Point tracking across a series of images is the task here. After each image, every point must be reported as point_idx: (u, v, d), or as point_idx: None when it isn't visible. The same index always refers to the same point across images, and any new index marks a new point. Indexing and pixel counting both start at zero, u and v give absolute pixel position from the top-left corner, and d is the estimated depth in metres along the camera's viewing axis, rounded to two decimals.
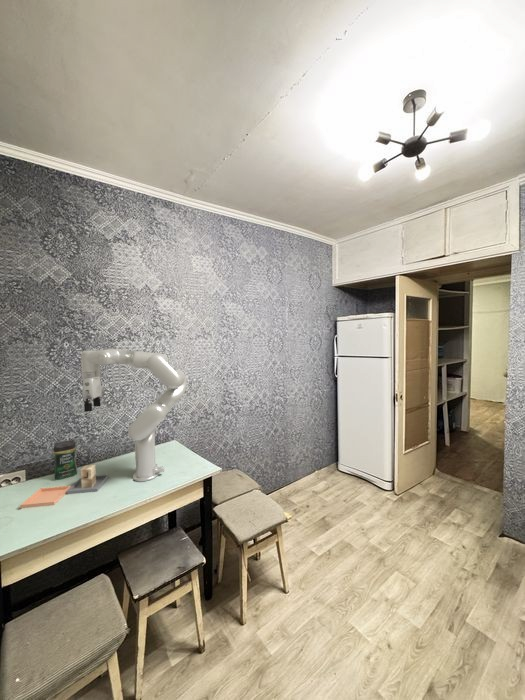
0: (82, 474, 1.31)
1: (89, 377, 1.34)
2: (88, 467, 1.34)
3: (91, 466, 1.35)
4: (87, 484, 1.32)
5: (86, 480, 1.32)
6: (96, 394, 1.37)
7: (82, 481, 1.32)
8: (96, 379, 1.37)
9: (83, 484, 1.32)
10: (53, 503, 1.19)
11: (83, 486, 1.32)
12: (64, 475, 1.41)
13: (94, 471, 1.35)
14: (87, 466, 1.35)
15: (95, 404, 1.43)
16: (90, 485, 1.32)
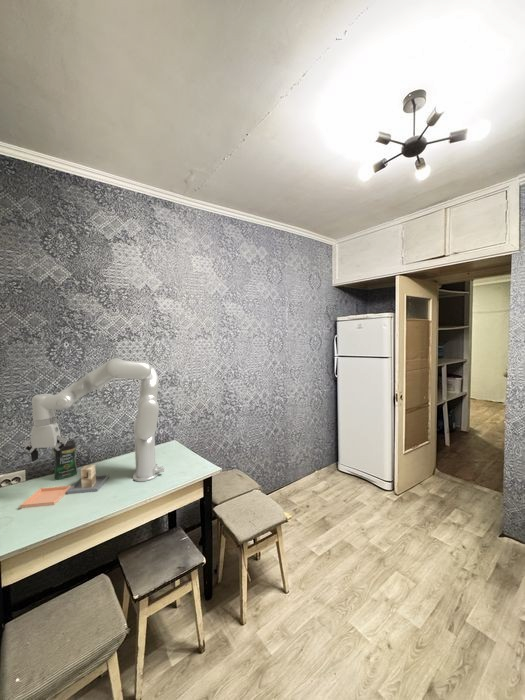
0: (82, 474, 1.31)
1: (54, 422, 1.24)
2: (88, 467, 1.34)
3: (91, 466, 1.35)
4: (87, 484, 1.32)
5: (86, 480, 1.32)
6: None
7: (82, 481, 1.32)
8: None
9: (83, 484, 1.32)
10: (53, 503, 1.19)
11: (83, 486, 1.32)
12: (64, 475, 1.41)
13: (94, 471, 1.35)
14: (87, 466, 1.35)
15: (35, 458, 1.23)
16: (90, 485, 1.32)
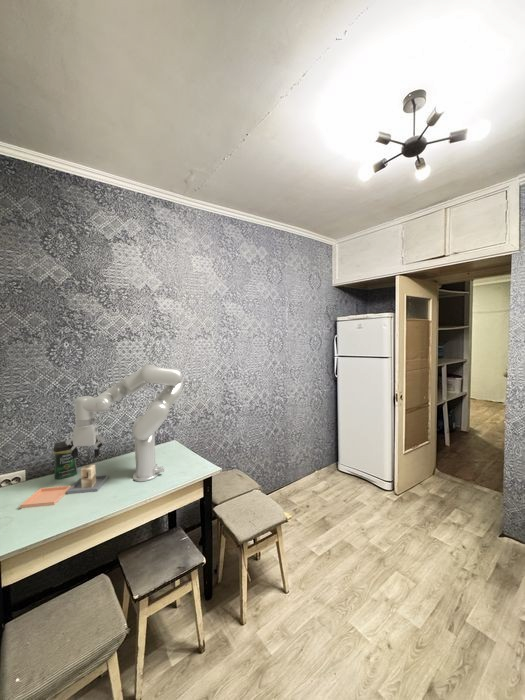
0: (82, 474, 1.31)
1: (94, 422, 1.34)
2: (88, 467, 1.34)
3: (91, 466, 1.35)
4: (87, 484, 1.32)
5: (86, 480, 1.32)
6: None
7: (82, 481, 1.32)
8: None
9: (83, 484, 1.32)
10: (53, 503, 1.19)
11: (83, 486, 1.32)
12: (64, 475, 1.41)
13: (94, 471, 1.35)
14: (87, 466, 1.35)
15: (75, 455, 1.32)
16: (90, 485, 1.32)
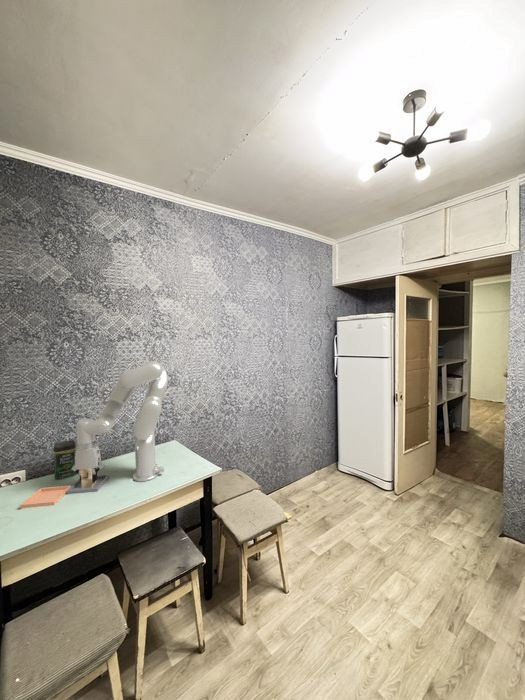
0: (82, 474, 1.31)
1: (95, 445, 1.35)
2: None
3: None
4: (87, 484, 1.32)
5: (86, 480, 1.32)
6: None
7: (82, 481, 1.32)
8: None
9: (83, 484, 1.32)
10: (53, 503, 1.19)
11: (83, 486, 1.32)
12: (64, 475, 1.41)
13: None
14: None
15: None
16: (90, 485, 1.32)
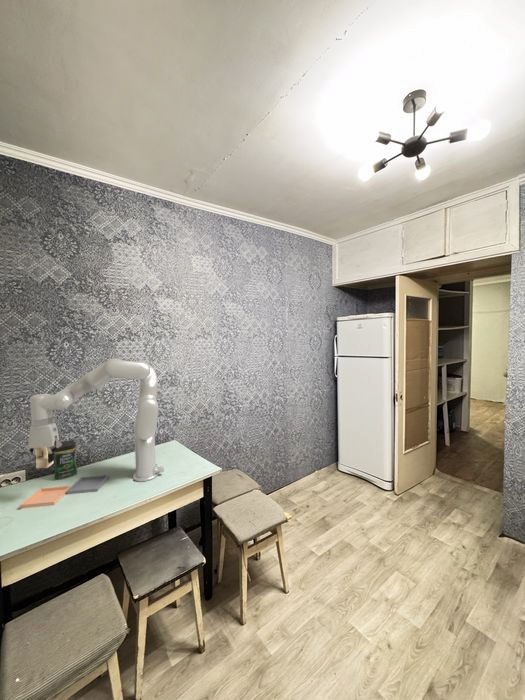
0: (37, 453, 1.21)
1: (52, 422, 1.24)
2: None
3: None
4: (42, 464, 1.21)
5: (41, 460, 1.21)
6: None
7: (37, 461, 1.21)
8: None
9: (38, 464, 1.21)
10: (53, 503, 1.19)
11: (38, 466, 1.21)
12: (64, 475, 1.41)
13: None
14: None
15: None
16: (46, 465, 1.22)
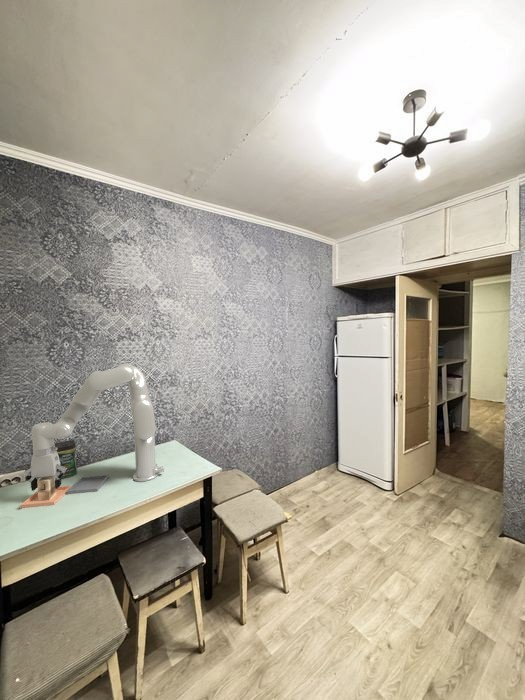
0: (39, 486, 1.22)
1: (54, 451, 1.25)
2: (46, 478, 1.24)
3: (50, 477, 1.25)
4: (44, 497, 1.22)
5: (43, 492, 1.22)
6: None
7: (39, 493, 1.22)
8: None
9: (40, 497, 1.22)
10: (53, 503, 1.19)
11: (40, 499, 1.22)
12: (64, 475, 1.41)
13: (53, 482, 1.26)
14: (45, 477, 1.25)
15: (34, 487, 1.23)
16: (48, 498, 1.22)
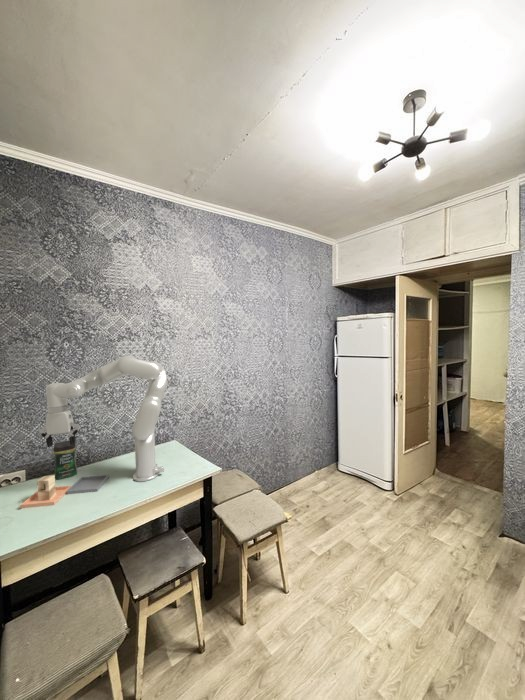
0: (39, 486, 1.22)
1: (67, 409, 1.31)
2: (46, 478, 1.24)
3: (50, 477, 1.25)
4: (44, 497, 1.22)
5: (43, 492, 1.22)
6: None
7: (39, 493, 1.22)
8: None
9: (40, 497, 1.22)
10: (53, 503, 1.19)
11: (40, 499, 1.22)
12: (64, 475, 1.41)
13: (53, 482, 1.26)
14: (45, 477, 1.25)
15: (50, 444, 1.29)
16: (48, 498, 1.22)
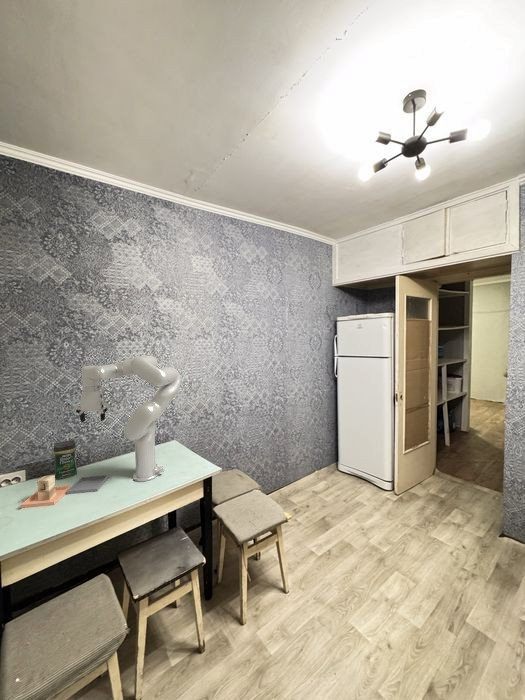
0: (39, 486, 1.22)
1: (99, 389, 1.47)
2: (46, 478, 1.24)
3: (50, 477, 1.25)
4: (44, 497, 1.22)
5: (43, 492, 1.22)
6: None
7: (39, 493, 1.22)
8: None
9: (40, 497, 1.22)
10: (53, 503, 1.19)
11: (40, 499, 1.22)
12: (64, 475, 1.41)
13: (53, 482, 1.26)
14: (45, 477, 1.25)
15: (83, 419, 1.45)
16: (48, 498, 1.22)
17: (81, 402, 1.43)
